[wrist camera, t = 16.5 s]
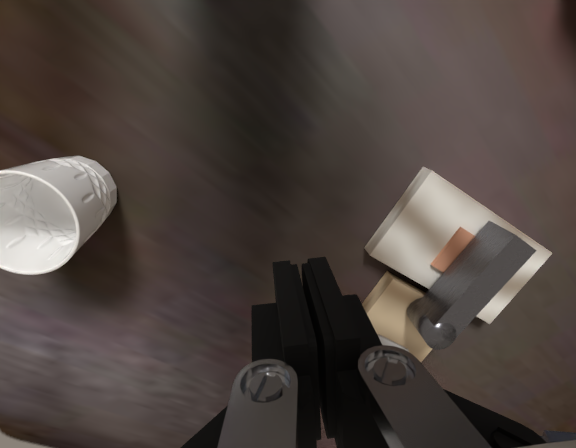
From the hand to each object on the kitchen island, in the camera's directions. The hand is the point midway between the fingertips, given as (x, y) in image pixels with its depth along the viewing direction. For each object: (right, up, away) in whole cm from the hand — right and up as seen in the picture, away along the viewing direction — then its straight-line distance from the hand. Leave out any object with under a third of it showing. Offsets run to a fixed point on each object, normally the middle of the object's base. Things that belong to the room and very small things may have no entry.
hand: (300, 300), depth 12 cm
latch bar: (+17, -3, +28) cm, 33 cm away
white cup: (-20, +6, +24) cm, 32 cm away
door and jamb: (+14, -6, +32) cm, 35 cm away
